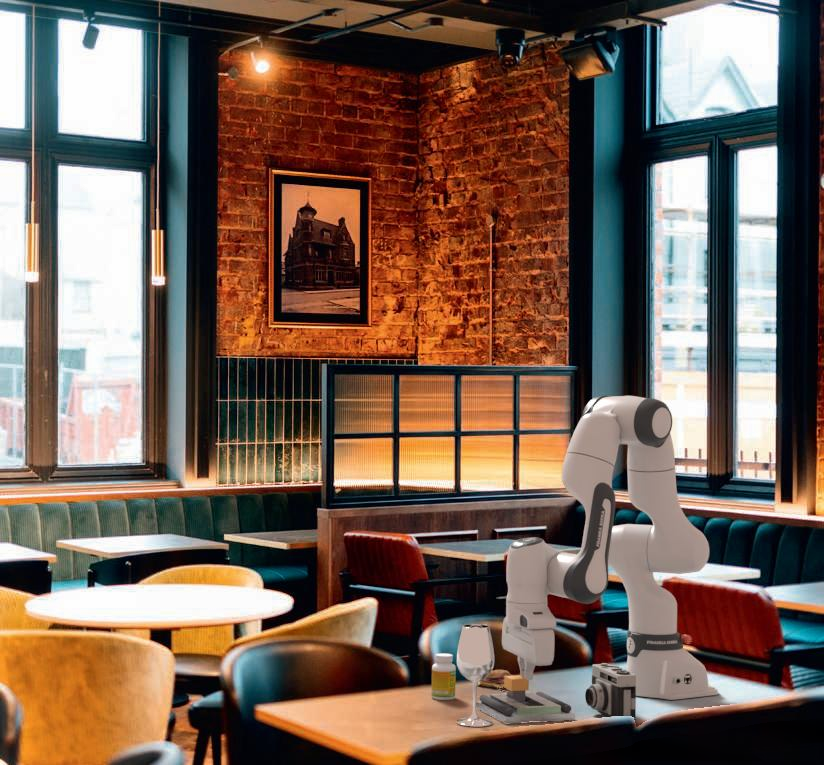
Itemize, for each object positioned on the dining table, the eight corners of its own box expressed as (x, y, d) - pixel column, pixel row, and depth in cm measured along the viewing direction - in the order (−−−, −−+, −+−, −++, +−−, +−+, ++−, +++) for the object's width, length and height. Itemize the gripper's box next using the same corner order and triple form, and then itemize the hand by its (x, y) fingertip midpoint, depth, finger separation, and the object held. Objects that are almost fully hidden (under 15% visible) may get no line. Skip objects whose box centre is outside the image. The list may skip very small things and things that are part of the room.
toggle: (520, 699, 290) (521, 675, 290) (528, 702, 286) (528, 678, 286) (503, 699, 288) (504, 676, 288) (511, 703, 285) (511, 679, 285)
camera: (574, 708, 290) (575, 662, 291) (608, 706, 293) (609, 661, 293) (601, 722, 277) (602, 674, 277) (637, 720, 279) (637, 672, 280)
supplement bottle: (453, 701, 295) (453, 657, 295) (429, 699, 296) (430, 656, 296) (457, 696, 300) (457, 653, 300) (433, 695, 301) (434, 652, 301)
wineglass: (453, 718, 277) (455, 623, 277) (490, 718, 277) (492, 623, 278) (457, 727, 269) (459, 628, 270) (495, 727, 270) (497, 629, 270)
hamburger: (457, 689, 311) (457, 663, 311) (491, 681, 322) (491, 656, 322) (506, 697, 302) (506, 671, 302) (539, 688, 313) (540, 663, 313)
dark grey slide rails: (541, 698, 293) (541, 690, 293) (572, 712, 278) (572, 705, 278) (478, 701, 288) (478, 694, 288) (507, 716, 273) (507, 709, 273)
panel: (542, 704, 293) (542, 690, 293) (575, 720, 278) (575, 705, 278) (475, 708, 288) (476, 694, 288) (505, 724, 273) (505, 709, 273)
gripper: (494, 607, 292) (494, 669, 292) (532, 622, 273) (531, 689, 273) (521, 605, 294) (521, 667, 294) (559, 621, 275) (559, 687, 275)
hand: (526, 678), depth 284 cm, fingers closed
